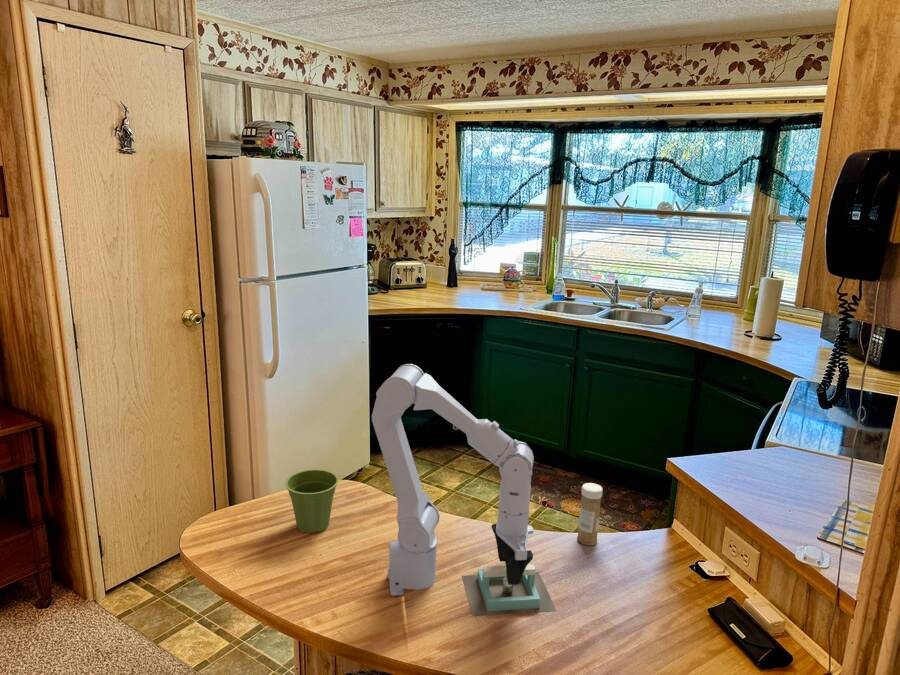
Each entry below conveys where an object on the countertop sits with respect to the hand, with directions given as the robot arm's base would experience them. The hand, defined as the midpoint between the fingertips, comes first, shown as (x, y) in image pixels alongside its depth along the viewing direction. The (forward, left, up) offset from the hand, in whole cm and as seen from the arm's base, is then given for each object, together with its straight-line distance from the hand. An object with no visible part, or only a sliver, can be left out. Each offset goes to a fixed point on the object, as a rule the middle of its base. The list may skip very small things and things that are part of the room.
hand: (509, 571), depth 118 cm
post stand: (0, 0, -6) cm, 6 cm away
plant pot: (-39, +29, -6) cm, 49 cm away
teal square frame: (0, 0, -5) cm, 5 cm away
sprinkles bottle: (+23, +18, -6) cm, 30 cm away
